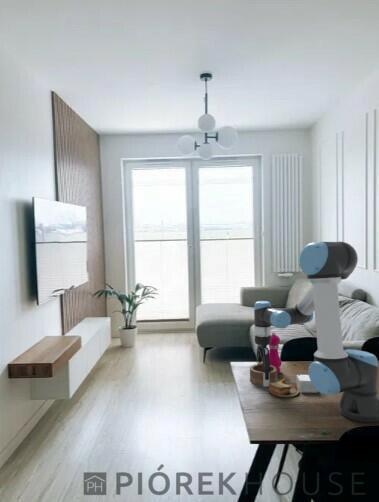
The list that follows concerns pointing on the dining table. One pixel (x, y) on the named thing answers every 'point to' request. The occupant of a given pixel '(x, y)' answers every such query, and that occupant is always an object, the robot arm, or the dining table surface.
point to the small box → (305, 384)
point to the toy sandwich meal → (283, 389)
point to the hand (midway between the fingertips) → (263, 380)
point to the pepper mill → (274, 352)
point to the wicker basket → (261, 374)
